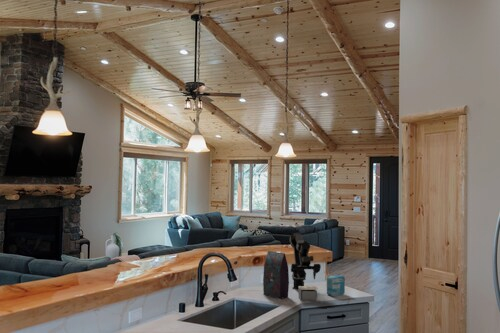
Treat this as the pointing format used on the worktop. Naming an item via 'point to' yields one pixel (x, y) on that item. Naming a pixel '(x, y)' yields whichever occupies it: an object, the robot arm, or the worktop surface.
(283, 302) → the worktop surface
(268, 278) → the dark coffee bag
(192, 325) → the worktop surface
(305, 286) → the lid
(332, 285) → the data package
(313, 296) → the storage box
